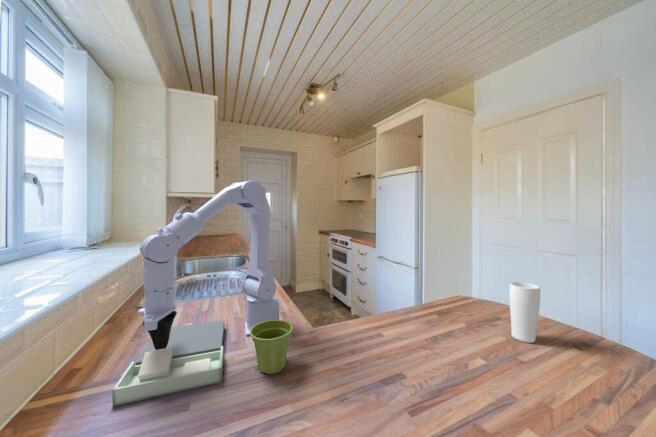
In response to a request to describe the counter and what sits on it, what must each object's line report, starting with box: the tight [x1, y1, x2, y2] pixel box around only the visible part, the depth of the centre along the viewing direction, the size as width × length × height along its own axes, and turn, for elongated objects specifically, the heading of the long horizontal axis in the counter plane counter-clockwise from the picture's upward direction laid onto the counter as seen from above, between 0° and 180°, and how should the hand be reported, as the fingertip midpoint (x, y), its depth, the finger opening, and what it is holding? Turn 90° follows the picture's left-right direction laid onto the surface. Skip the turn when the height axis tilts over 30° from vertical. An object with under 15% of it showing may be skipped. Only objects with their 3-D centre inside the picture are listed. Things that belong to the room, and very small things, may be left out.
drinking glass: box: [508, 281, 541, 344], centre depth 68 cm, size 7×7×15 cm
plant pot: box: [249, 319, 293, 375], centre depth 56 cm, size 9×9×9 cm
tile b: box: [138, 348, 173, 381], centre depth 53 cm, size 5×5×2 cm
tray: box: [111, 345, 224, 407], centre depth 52 cm, size 18×9×3 cm, turn 110°
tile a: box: [181, 358, 211, 375], centre depth 52 cm, size 5×5×2 cm
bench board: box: [135, 319, 225, 366], centre depth 64 cm, size 17×16×2 cm
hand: (161, 347), depth 56 cm, fingers closed
